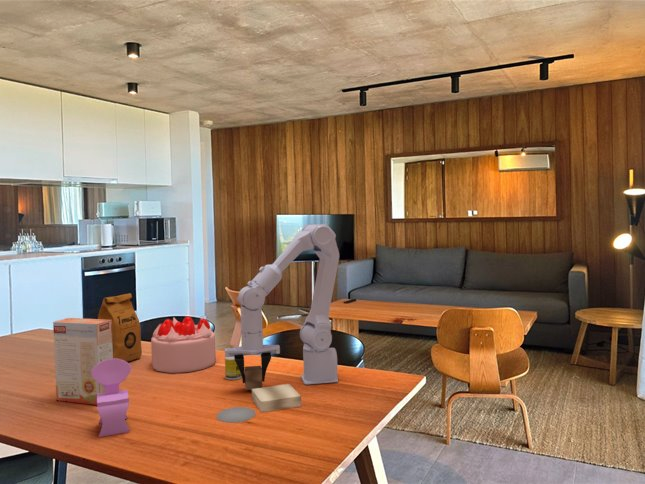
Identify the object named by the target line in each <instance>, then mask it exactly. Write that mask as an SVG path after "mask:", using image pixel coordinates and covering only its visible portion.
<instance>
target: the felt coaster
mask: <svg viewBox="0 0 645 484" xmlns="http://www.w3.org/2000/svg"><path fill="white" fill-rule="evenodd" d="M255 416H256V411H255V410H254V409H253V408H249V407H245V406H242V407H241V406H237V407H236V406H235V407H230V408H225V409H223V410H220V411H219V412H218V413H217V414H216V419H217V420H218V421H220V422H222V423H229V424H235V423H236V424H237V423H242V422H243V423H244V422H247V421H250V420H251V419H253V418H254V417H255Z"/></svg>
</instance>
